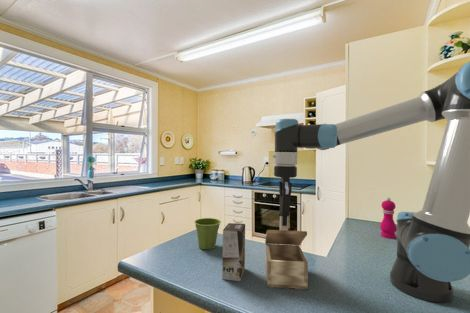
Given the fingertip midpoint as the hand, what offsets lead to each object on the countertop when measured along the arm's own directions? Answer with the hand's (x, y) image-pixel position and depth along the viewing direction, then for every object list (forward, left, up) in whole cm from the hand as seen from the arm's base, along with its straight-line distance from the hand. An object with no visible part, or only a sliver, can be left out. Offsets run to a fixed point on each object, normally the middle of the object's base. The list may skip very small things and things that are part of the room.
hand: (283, 234), depth 78 cm
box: (0, +1, -14) cm, 14 cm away
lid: (0, 0, -2) cm, 2 cm away
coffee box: (+17, +1, -14) cm, 22 cm away
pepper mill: (-58, -45, -14) cm, 75 cm away
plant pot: (+31, -21, -14) cm, 40 cm away
